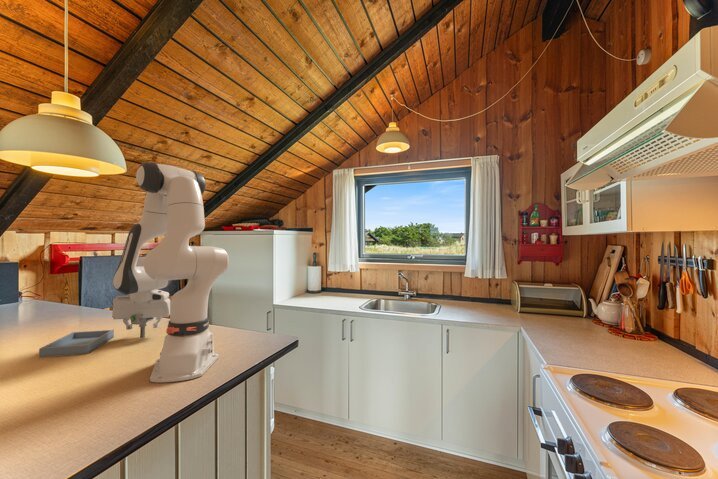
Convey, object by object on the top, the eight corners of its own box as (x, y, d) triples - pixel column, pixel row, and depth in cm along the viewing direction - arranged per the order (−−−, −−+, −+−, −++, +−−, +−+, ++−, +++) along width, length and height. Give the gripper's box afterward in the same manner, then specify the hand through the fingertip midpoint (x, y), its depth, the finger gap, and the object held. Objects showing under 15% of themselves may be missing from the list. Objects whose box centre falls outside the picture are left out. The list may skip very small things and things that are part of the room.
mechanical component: (155, 333, 126) (156, 310, 126) (135, 341, 116) (135, 316, 116) (149, 333, 126) (149, 309, 126) (128, 341, 116) (128, 316, 116)
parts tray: (87, 353, 104) (87, 345, 104) (39, 357, 100) (39, 348, 100) (113, 337, 121) (113, 329, 121) (72, 339, 117) (73, 332, 117)
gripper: (108, 297, 115) (108, 332, 115) (168, 295, 121) (168, 329, 121) (117, 294, 121) (116, 327, 121) (173, 292, 127) (173, 324, 127)
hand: (142, 328), depth 121 cm, fingers open, 8 cm apart
